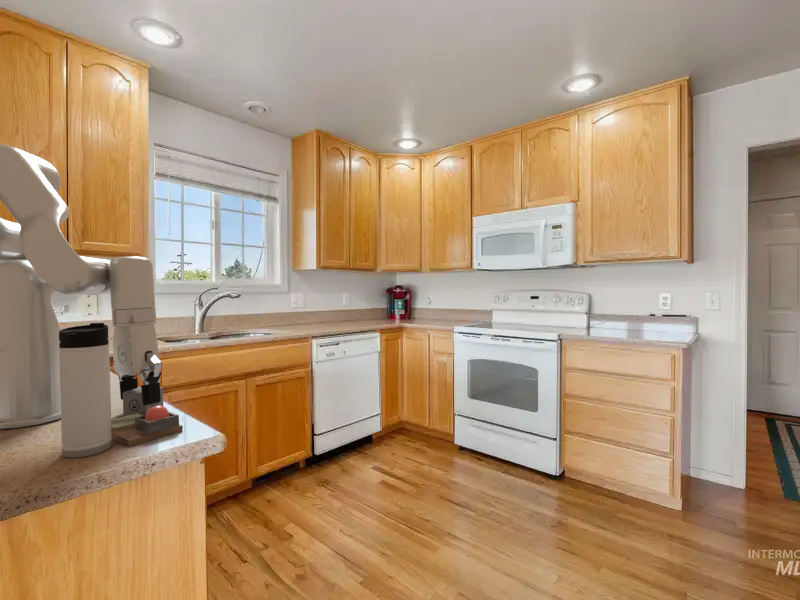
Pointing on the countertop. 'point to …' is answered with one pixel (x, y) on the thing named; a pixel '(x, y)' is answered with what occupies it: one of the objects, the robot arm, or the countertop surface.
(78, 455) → the travel mug
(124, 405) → the grey sad face cube
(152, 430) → the button base
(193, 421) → the countertop surface
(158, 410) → the dome
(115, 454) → the countertop surface
